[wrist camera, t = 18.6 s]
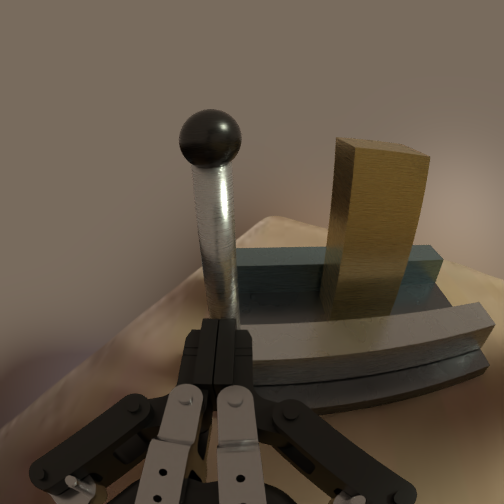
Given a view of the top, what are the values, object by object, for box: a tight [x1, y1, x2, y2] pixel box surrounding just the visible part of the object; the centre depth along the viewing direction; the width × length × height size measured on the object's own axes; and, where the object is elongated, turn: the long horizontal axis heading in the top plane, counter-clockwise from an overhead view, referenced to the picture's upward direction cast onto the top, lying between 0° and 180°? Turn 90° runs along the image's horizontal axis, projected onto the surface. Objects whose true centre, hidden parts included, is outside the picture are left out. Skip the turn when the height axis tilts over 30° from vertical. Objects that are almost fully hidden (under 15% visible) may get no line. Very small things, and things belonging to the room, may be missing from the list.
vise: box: [236, 245, 490, 415], centre depth 22 cm, size 16×22×4 cm
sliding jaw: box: [179, 109, 496, 385], centre depth 14 cm, size 4×22×16 cm, turn 91°
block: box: [319, 137, 430, 321], centre depth 20 cm, size 4×6×14 cm
